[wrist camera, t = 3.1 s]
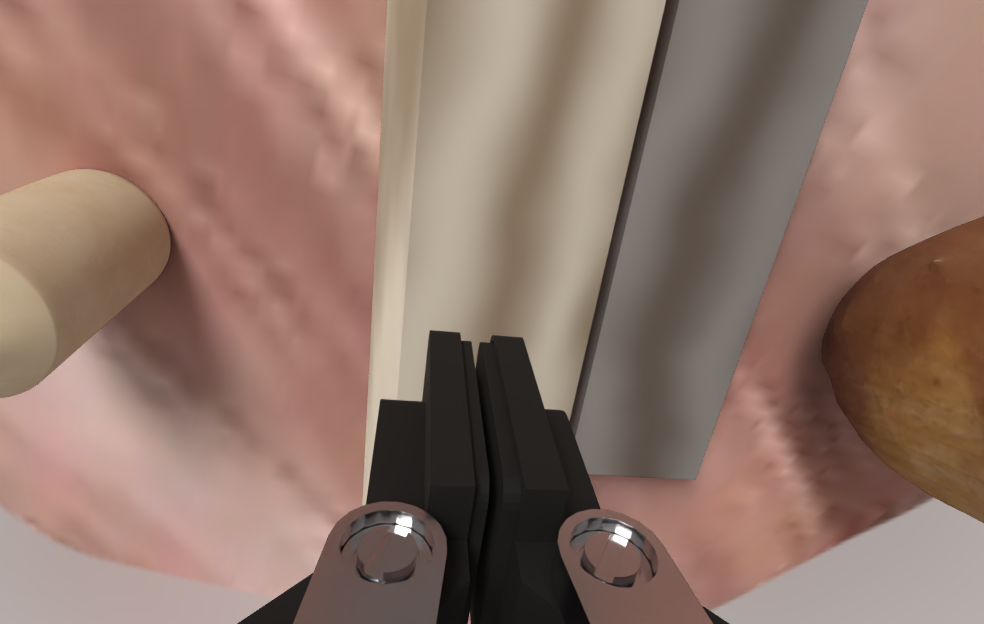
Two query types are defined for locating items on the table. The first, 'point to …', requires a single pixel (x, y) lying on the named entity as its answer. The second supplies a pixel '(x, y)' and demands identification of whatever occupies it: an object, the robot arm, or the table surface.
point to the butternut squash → (918, 364)
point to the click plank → (500, 180)
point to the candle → (70, 266)
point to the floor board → (702, 221)
